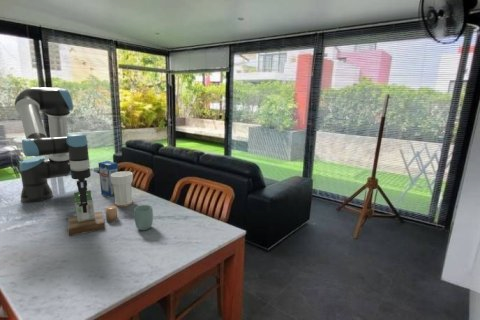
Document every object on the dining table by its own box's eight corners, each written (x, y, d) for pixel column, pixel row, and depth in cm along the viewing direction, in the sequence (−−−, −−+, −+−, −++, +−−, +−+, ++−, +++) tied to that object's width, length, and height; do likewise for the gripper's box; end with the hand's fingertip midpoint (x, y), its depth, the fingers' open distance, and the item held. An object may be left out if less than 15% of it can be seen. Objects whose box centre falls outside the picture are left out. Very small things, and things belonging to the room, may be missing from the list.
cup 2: (156, 226, 128) (155, 206, 125) (146, 233, 120) (144, 212, 118) (143, 223, 130) (141, 203, 128) (131, 230, 123) (130, 210, 121)
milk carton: (120, 194, 167) (117, 163, 162) (110, 197, 162) (107, 165, 157) (110, 191, 172) (107, 160, 167) (101, 194, 167) (98, 162, 162)
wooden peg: (106, 218, 134) (105, 207, 133) (117, 216, 137) (116, 205, 135) (107, 222, 130) (105, 210, 129) (118, 220, 133) (117, 208, 131)
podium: (69, 222, 129) (68, 217, 128) (102, 216, 136) (101, 211, 135) (68, 235, 117) (68, 229, 116) (104, 228, 124) (104, 222, 123)
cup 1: (108, 205, 150) (105, 175, 146) (123, 198, 161) (121, 170, 157) (124, 208, 146) (121, 177, 142) (138, 201, 156) (137, 172, 152)
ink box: (77, 223, 122) (74, 195, 119) (77, 219, 125) (73, 192, 122) (94, 219, 126) (92, 192, 123) (94, 216, 129) (91, 190, 126)
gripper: (71, 163, 129) (76, 205, 133) (69, 177, 108) (75, 225, 113) (88, 162, 132) (93, 202, 137) (91, 174, 111) (96, 222, 116)
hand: (85, 213), depth 125 cm, fingers open, 13 cm apart
